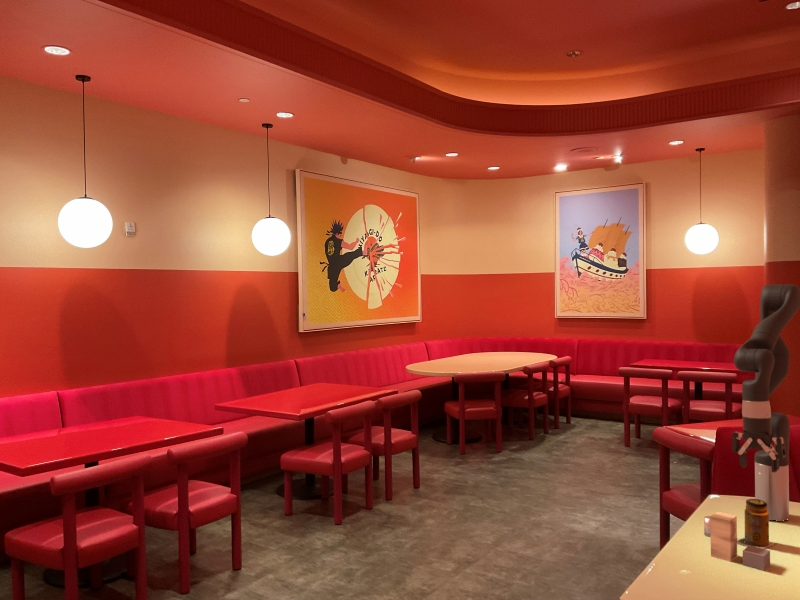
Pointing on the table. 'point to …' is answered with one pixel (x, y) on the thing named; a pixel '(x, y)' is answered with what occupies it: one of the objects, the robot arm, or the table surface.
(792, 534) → the table surface
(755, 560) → the rubber block
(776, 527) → the table surface
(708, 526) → the metal cylinder
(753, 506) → the condiment
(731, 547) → the maple block
